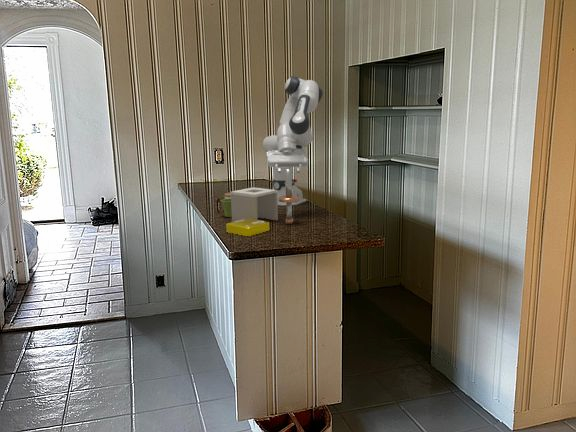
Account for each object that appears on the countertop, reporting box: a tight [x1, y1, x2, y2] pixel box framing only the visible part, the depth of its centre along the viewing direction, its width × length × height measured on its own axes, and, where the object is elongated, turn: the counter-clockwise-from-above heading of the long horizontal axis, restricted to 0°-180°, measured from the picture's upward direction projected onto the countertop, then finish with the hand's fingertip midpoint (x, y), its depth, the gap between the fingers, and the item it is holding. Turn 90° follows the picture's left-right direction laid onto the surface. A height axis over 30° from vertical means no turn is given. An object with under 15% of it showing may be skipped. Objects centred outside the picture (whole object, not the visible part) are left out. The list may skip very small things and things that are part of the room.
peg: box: [279, 168, 300, 225], centre depth 248 cm, size 10×10×26 cm
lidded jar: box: [223, 191, 232, 199], centre depth 292 cm, size 11×11×9 cm
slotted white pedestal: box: [230, 187, 279, 222], centre depth 255 cm, size 16×16×15 cm
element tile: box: [225, 219, 270, 237], centre depth 236 cm, size 15×15×5 cm
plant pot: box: [220, 198, 232, 218], centre depth 268 cm, size 9×9×9 cm
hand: (288, 172), depth 255 cm, fingers open, 8 cm apart
